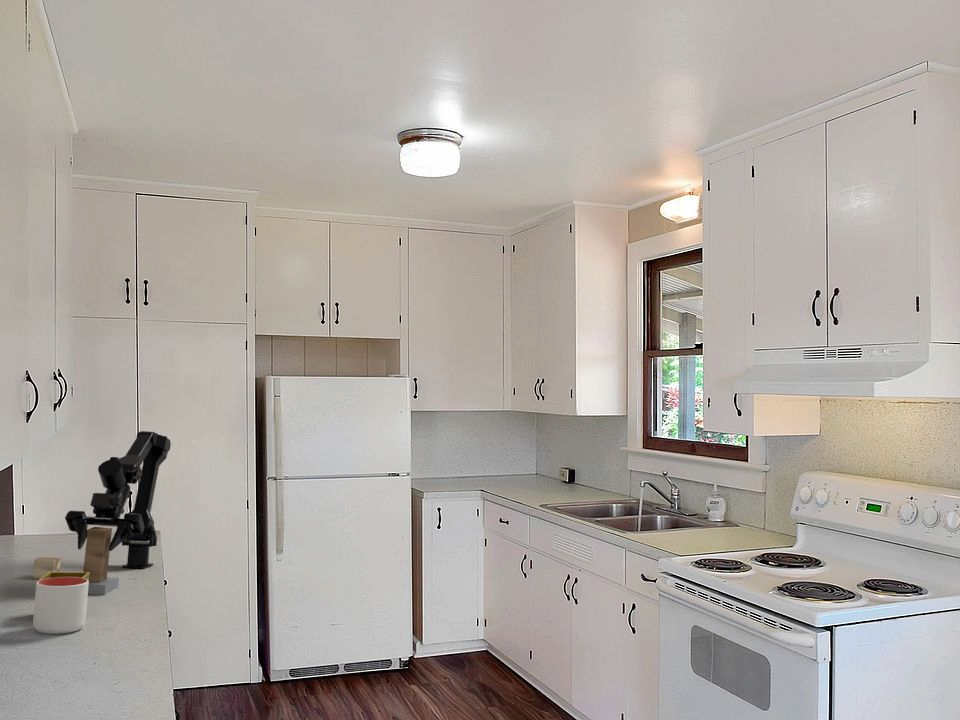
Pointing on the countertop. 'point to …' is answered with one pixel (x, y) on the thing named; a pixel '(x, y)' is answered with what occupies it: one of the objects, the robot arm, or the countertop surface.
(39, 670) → the countertop surface
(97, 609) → the countertop surface
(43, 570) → the maple cube
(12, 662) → the countertop surface
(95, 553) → the walnut block
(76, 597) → the cup
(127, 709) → the countertop surface
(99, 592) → the grey base block
